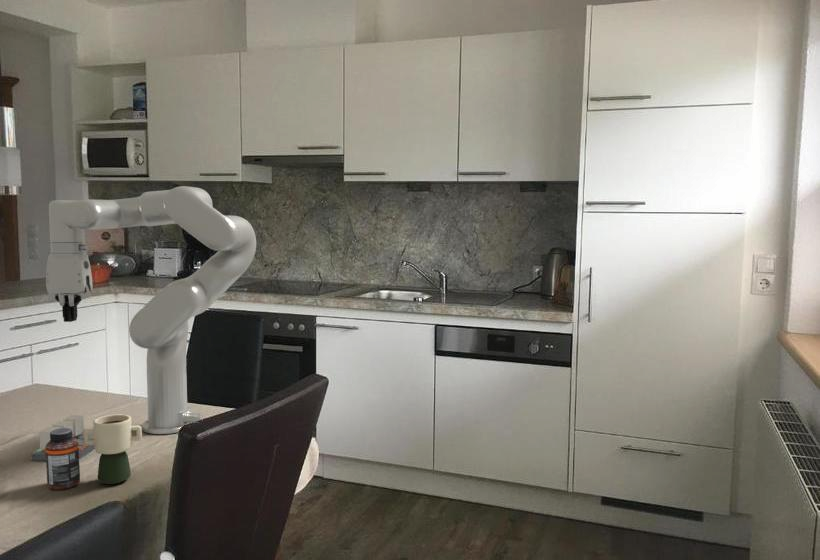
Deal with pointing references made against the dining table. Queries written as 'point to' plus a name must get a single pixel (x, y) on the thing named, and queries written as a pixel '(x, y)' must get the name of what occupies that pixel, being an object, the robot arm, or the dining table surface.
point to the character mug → (113, 446)
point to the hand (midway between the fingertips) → (70, 320)
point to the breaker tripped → (46, 436)
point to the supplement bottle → (62, 460)
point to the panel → (83, 449)
